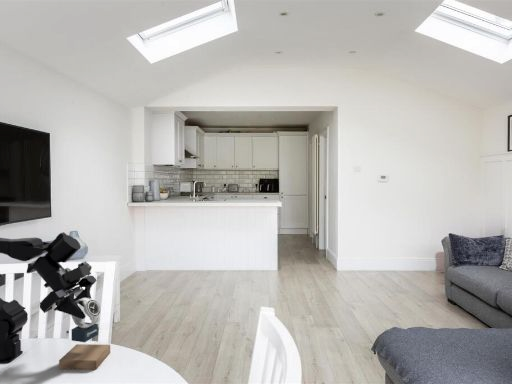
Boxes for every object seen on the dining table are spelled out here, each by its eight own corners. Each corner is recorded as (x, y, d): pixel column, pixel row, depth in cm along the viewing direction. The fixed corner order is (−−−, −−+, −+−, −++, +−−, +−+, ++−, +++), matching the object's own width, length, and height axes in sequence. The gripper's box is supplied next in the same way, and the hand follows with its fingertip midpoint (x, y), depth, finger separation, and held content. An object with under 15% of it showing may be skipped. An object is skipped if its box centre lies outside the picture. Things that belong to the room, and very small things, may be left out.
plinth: (59, 369, 106) (59, 360, 106) (76, 352, 116) (76, 344, 116) (96, 369, 106) (96, 360, 106) (110, 352, 116) (110, 344, 116)
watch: (90, 343, 107) (90, 303, 106) (66, 339, 109) (65, 300, 108) (104, 335, 112) (103, 297, 112) (80, 332, 114) (80, 294, 114)
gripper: (49, 261, 101) (89, 306, 100) (90, 248, 119) (124, 286, 118) (22, 290, 102) (61, 335, 101) (67, 273, 121) (100, 310, 120)
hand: (89, 314), depth 110 cm, fingers closed on watch, 5 cm apart
